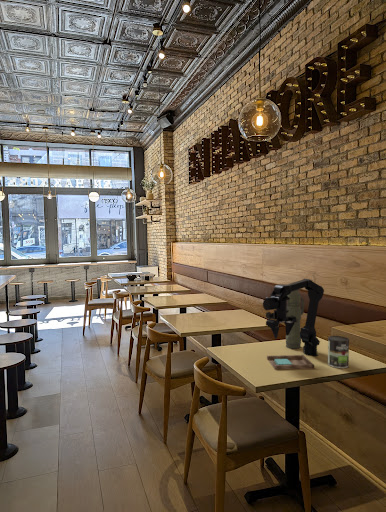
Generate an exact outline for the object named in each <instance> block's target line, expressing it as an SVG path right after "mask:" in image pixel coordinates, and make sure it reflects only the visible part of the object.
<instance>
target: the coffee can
mask: <svg viewBox="0 0 386 512" xmlns="http://www.w3.org/2000/svg"><path fill="white" fill-rule="evenodd" d="M327 341H328V342H327V349H328V350H327V365H328V366H329V367H332V368H336V369H346V368H348V367H349V362H350V361H349V359H350V358H349V357H350V355H349V354H350V338H348V337H345V336H340V335H330V336H328V337H327Z"/></svg>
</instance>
